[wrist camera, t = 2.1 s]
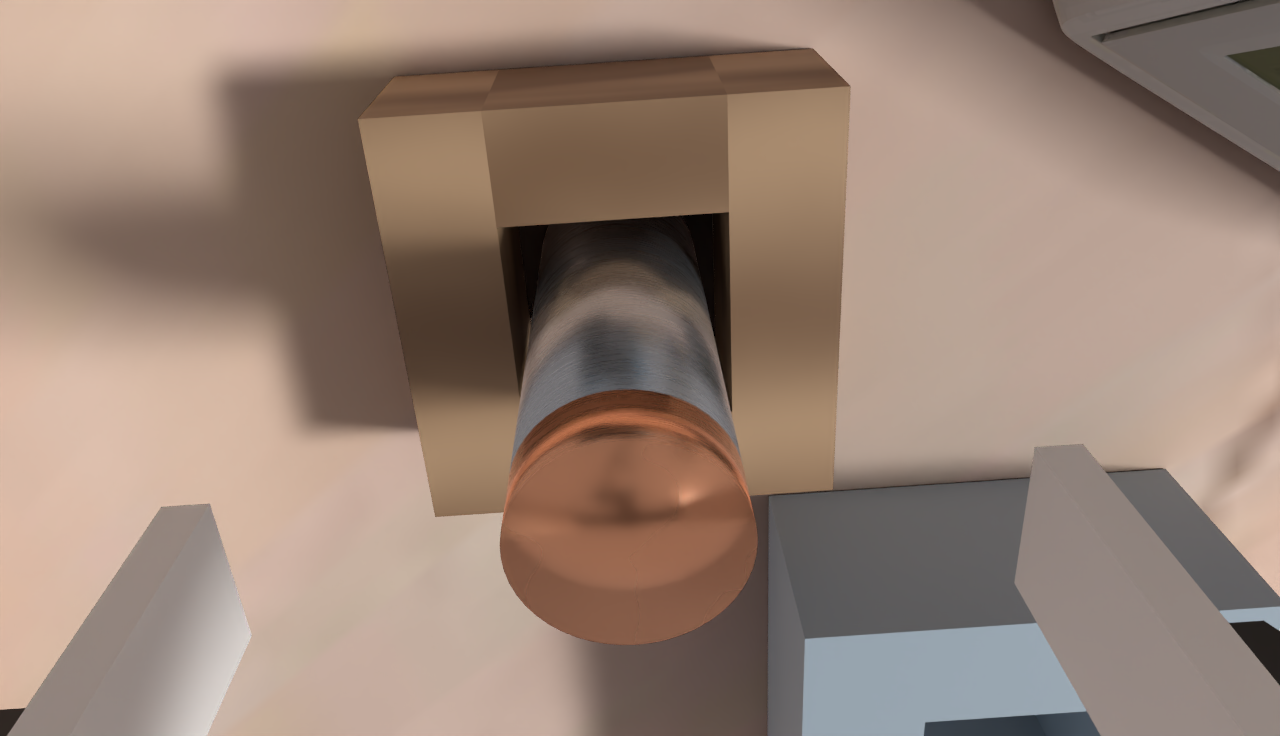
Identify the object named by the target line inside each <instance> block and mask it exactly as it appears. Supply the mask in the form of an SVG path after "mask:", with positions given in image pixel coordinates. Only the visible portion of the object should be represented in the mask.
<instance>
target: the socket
mask: <svg viewBox="0 0 1280 736" xmlns="http://www.w3.org/2000/svg"><path fill="white" fill-rule="evenodd" d="M1107 474H1108V476H1109V477H1110V478H1111V479H1112V480H1113V482H1114V483H1115V484H1116V485H1117V487H1118V488H1119V489H1120V490H1121V491H1122V493H1123V494H1124V495H1125V496H1126V498H1127V499H1128V500H1129V501H1130V503H1131V504H1132V505H1133V506H1134V507H1135V509H1136V510H1137V511H1138V512H1139V514H1140V515H1141V516H1142V517H1143V518H1144V520H1145V521H1146V522H1147V523H1148V525H1149V526H1150V527H1151V528H1152V529H1153V531H1154V532H1155V533H1156V534H1157V536H1158V537H1159V538H1160V539H1161V541H1162V542H1163V543H1164V544H1165V545H1166V547H1167V548H1168V549H1169V550H1170V552H1171V553H1172V554H1173V555H1174V556H1175V558H1176V559H1177V560H1178V561H1179V563H1180V564H1181V565H1182V566H1183V567H1184V569H1185V570H1186V571H1187V572H1188V574H1189V575H1190V576H1191V577H1192V579H1193V580H1194V581H1195V582H1196V583H1197V585H1198V586H1199V587H1200V588H1201V590H1202V591H1203V592H1204V593H1205V594H1206V596H1207V597H1208V598H1209V599H1210V601H1211V602H1212V603H1213V604H1214V606H1215V607H1216V608H1217V609H1218V610H1219V612H1220V613H1221V614H1222V615H1223V617H1224V618H1225V619H1226V620H1227V621H1228V623H1234V622H1249V621H1263V620H1264V621H1265V622H1267V623H1268V624H1270V625H1271V626H1273V627H1274V628H1276V629H1277V630H1279V629H1280V597H1279V596H1278V595H1277V594H1276V593H1275V592H1274V590H1273V589H1272V588H1271V587H1270V586H1269V585H1268V584H1267V583H1266V581H1265V580H1264V579H1263V578H1262V577H1261V576H1260V575H1259V574H1258V572H1257V571H1256V570H1255V569H1254V568H1253V567H1252V566H1251V565H1250V563H1249V562H1248V561H1247V560H1246V559H1245V558H1244V557H1243V556H1242V554H1241V553H1240V552H1239V551H1238V550H1237V549H1236V548H1235V547H1234V545H1233V544H1232V543H1231V542H1230V541H1229V540H1228V539H1227V538H1226V536H1225V535H1224V534H1223V533H1222V532H1221V531H1220V530H1219V529H1218V527H1217V526H1216V525H1215V524H1214V523H1213V522H1212V521H1211V520H1210V518H1209V517H1208V516H1207V515H1206V514H1205V513H1204V512H1203V511H1202V509H1201V508H1200V507H1199V506H1198V505H1197V504H1196V503H1195V502H1194V500H1193V499H1192V498H1191V497H1190V496H1189V495H1188V494H1187V493H1186V491H1185V490H1184V489H1183V488H1182V487H1181V486H1180V485H1179V484H1178V483H1177V481H1176V480H1175V479H1174V478H1173V477H1172V476H1171V475H1170V474H1169V472H1168V471H1167V470H1166V469H1158V470H1143V471H1129V472H1114V473H1107ZM1029 482H1030V478H1025V479H1010V480H996V481H981V482H966V483H951V484H937V485H922V486H907V487H892V488H878V489H863V490H848V491H833V492H818V493H804V494H789V495H774V496H769V552H768V730H767V736H1101V735H1100V734H1099V732H1098V730H1097V728H1096V727H1095V725H1094V723H1093V721H1092V719H1091V718H1090V716H1089V714H1088V712H1087V711H1086V709H1085V707H1084V705H1083V704H1082V702H1081V700H1080V698H1079V697H1078V695H1077V693H1076V691H1075V689H1074V688H1073V686H1072V684H1071V682H1070V681H1069V679H1068V677H1067V675H1066V674H1065V672H1064V670H1063V668H1062V666H1061V665H1060V663H1059V661H1058V659H1057V658H1056V656H1055V654H1054V652H1053V651H1052V649H1051V647H1050V645H1049V643H1048V642H1047V640H1046V638H1045V636H1044V635H1043V633H1042V631H1041V629H1040V628H1039V626H1038V624H1037V622H1036V621H1035V619H1034V617H1033V615H1032V613H1031V612H1030V610H1029V608H1028V606H1027V605H1026V603H1025V601H1024V599H1023V598H1022V596H1021V594H1020V592H1019V590H1018V589H1017V587H1016V585H1015V583H1014V581H1015V575H1016V568H1017V562H1018V555H1019V548H1020V542H1021V535H1022V529H1023V522H1024V515H1025V509H1026V502H1027V495H1028V489H1029Z"/></svg>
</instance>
